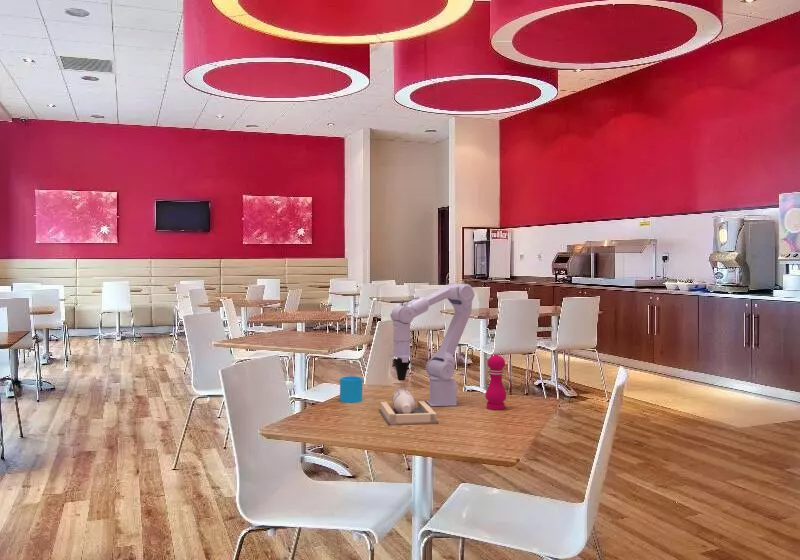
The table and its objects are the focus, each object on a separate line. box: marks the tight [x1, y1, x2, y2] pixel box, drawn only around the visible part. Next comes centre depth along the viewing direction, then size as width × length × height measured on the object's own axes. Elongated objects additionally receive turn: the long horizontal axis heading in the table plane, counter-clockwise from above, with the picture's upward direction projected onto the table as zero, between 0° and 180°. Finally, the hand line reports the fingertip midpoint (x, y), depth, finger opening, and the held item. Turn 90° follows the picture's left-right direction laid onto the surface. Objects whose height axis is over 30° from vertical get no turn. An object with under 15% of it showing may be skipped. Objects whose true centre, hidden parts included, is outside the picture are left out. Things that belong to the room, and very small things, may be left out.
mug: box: [339, 375, 363, 404], centre depth 250 cm, size 12×8×8 cm
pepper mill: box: [484, 350, 507, 411], centre depth 238 cm, size 7×7×20 cm
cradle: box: [378, 400, 439, 426], centre depth 224 cm, size 16×20×3 cm
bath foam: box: [391, 386, 416, 414], centre depth 226 cm, size 7×7×20 cm
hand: (401, 380), depth 235 cm, fingers closed
